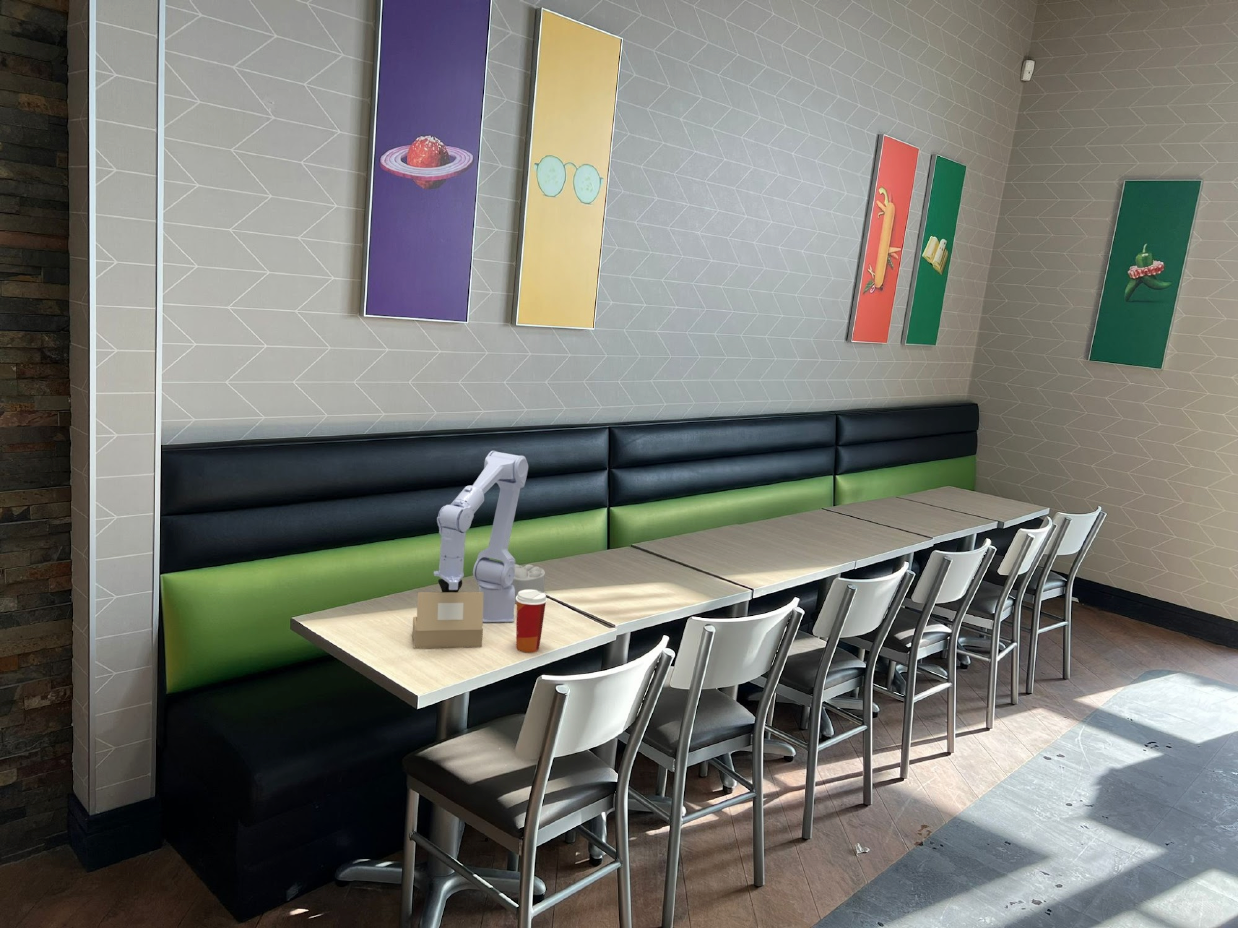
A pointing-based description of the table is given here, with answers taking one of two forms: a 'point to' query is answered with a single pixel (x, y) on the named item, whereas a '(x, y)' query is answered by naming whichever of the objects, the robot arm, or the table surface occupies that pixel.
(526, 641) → the paper cup
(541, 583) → the clear tub of eggs
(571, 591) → the table surface
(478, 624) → the lid flap
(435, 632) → the kraft box
